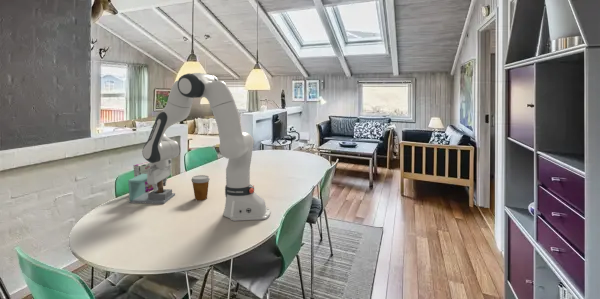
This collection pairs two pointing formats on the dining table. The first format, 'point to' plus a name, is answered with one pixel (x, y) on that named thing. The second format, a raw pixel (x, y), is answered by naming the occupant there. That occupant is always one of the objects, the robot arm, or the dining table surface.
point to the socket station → (140, 196)
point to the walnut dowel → (160, 186)
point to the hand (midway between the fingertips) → (160, 188)
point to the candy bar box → (143, 169)
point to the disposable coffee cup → (200, 186)
